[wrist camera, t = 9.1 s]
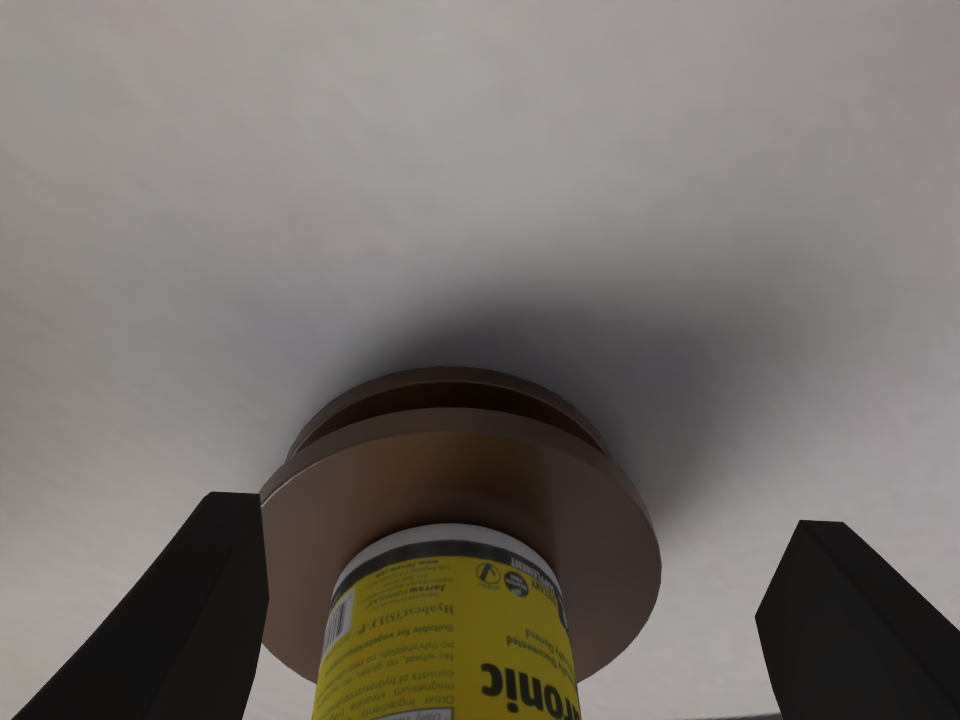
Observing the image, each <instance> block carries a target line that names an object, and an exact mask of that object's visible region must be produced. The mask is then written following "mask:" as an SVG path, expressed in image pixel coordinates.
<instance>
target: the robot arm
mask: <svg viewBox="0 0 960 720" xmlns="http://www.w3.org/2000/svg"><path fill="white" fill-rule="evenodd" d="M269 599H270V597H269V586H268V576H267V565H266V555H265V544H264V534H263V523H262V513H261V502H260V494H251V493H231V492H210V493H209V494H208V495H206V496H205V497H204V498H203V499H202V500H201V502H200V503H199V504H198V506H197V507H196V508H195V510H194V511H193V512H192V514H191V515H190V516H189V518H188V519H187V520H186V522H185V523H184V524H183V525H182V527H181V528H180V529H179V531H178V532H177V533H176V535H175V536H174V537H173V538H172V540H171V541H170V542H169V544H168V545H167V546H166V547H165V549H164V550H163V551H162V552H161V554H160V555H159V556H158V557H157V559H156V560H155V561H154V562H153V563H152V565H151V566H150V567H149V568H148V570H147V571H146V572H145V573H144V574H143V576H142V577H141V578H140V579H139V581H138V582H137V583H136V584H135V585H134V586H133V588H132V589H131V590H130V591H129V592H128V593H127V595H126V596H125V597H124V598H123V599H122V600H121V602H120V603H119V604H118V605H117V606H116V607H115V608H114V610H113V611H112V612H111V613H110V614H109V615H108V617H107V618H106V619H105V620H104V621H103V622H102V624H101V625H100V626H99V627H98V628H97V629H96V631H95V632H94V633H93V634H92V635H91V636H90V637H89V638H88V639H87V641H86V642H85V643H84V644H83V645H82V646H81V647H80V648H79V649H78V650H77V651H76V652H75V653H74V655H73V656H72V657H71V658H70V659H69V660H68V661H67V662H66V663H65V664H64V665H63V666H62V667H61V668H60V669H59V670H58V671H57V673H56V674H55V675H54V676H53V677H52V678H51V679H50V680H49V681H48V682H47V683H46V684H45V685H44V686H43V687H42V688H41V690H40V691H39V692H38V693H37V694H36V695H35V696H34V697H33V698H32V699H31V700H30V701H29V702H28V703H27V704H26V705H25V706H24V707H23V708H22V709H21V710H20V711H19V712H18V713H17V714H16V715H15V716H14V717H13V718H12V719H11V720H242V718H243V714H244V711H245V707H246V704H247V701H248V697H249V694H250V691H251V687H252V684H253V680H254V677H255V673H256V668H257V663H258V658H259V653H260V648H261V643H262V637H263V632H264V626H265V621H266V615H267V610H268V604H269ZM755 620H756V624H757V629H758V633H759V637H760V642H761V646H762V650H763V655H764V659H765V662H766V666H767V670H768V674H769V677H770V681H771V685H772V689H773V692H774V695H775V697H776V700H777V703H778V706H779V708H780V711H781V714H782V716H783V719H784V720H960V631H959V630H958V629H957V628H956V627H955V626H954V625H953V624H952V623H950V622H949V621H948V620H947V619H946V618H945V617H944V616H943V615H942V614H941V613H940V612H939V611H938V610H937V609H936V608H935V607H934V606H932V605H931V604H930V603H929V602H928V601H927V600H926V599H925V598H924V597H923V596H922V595H921V594H920V593H919V592H918V591H917V590H916V589H915V588H914V587H912V586H911V585H910V584H909V583H908V582H907V581H906V580H905V579H904V578H903V577H902V576H901V575H900V574H899V573H898V572H897V571H896V570H895V569H894V568H893V567H891V566H890V565H889V564H888V563H887V562H886V561H885V560H884V559H883V558H882V557H881V556H880V555H879V554H878V553H877V552H876V551H875V550H873V549H872V548H871V547H870V546H869V545H868V544H867V543H866V542H865V541H864V540H863V539H862V538H860V537H859V536H858V535H857V534H856V533H855V532H854V531H853V530H852V529H850V528H849V527H848V526H847V525H846V524H845V523H844V522H833V521H812V520H799V523H798V525H797V527H796V529H795V531H794V533H793V535H792V538H791V540H790V542H789V544H788V546H787V548H786V550H785V553H784V555H783V557H782V559H781V561H780V563H779V565H778V568H777V570H776V572H775V574H774V576H773V578H772V580H771V583H770V585H769V587H768V589H767V591H766V593H765V595H764V598H763V600H762V602H761V604H760V606H759V608H758V610H757V613H756V615H755Z"/></svg>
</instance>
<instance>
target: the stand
mask: <svg viewBox="0 0 960 720" xmlns="http://www.w3.org/2000/svg"><path fill="white" fill-rule="evenodd" d="M258 494H260V502H261V513H262V523H263V534H264V544H265V555H266V565H267V576H268V586H269V597H270V599H269V604H268V610H267V615H266V621H265V626H264V632H263V637H262V643H263V645H264V646H265V647H266V648H267V649H268V650H269V651H270V652H271V653H272V654H273V655H274V656H275V657H277V658H278V659H279V660H280V661H281V662H282V663H284V664H285V665H286V666H287V667H289V668H290V669H292V670H293V671H295V672H296V673H298V674H299V675H301V676H302V677H304V678H305V679H307V680H309V681H311V682H313V683H315V684H317V681H318V675H319V668H320V662H321V654H322V649H323V644H324V637H325V631H326V625H327V620H328V613H329V608H330V604H331V599H332V595H333V591H334V588H335V585H336V583H337V581H338V579H339V577H340V575H341V573H342V572H343V570H344V569H345V567H346V566H347V565H348V564H349V563H350V562H351V560H352V559H353V558H354V557H355V556H356V555H357V554H359V553H360V552H361V551H362V550H363V549H365V548H366V547H368V546H369V545H371V544H373V543H375V542H377V541H378V540H380V539H382V538H385V537H387V536H389V535H391V534H394V533H397V532H399V531H402V530H406V529H410V528H414V527H419V526H425V525H433V524H449V523H454V524H469V525H476V526H481V527H486V528H489V529H492V530H496V531H499V532H501V533H504V534H506V535H509V536H511V537H513V538H515V539H517V540H519V541H520V542H522V543H524V544H525V545H527V546H528V547H530V548H531V549H532V550H534V551H535V552H536V553H537V554H538V555H539V556H540V557H541V558H542V559H543V560H544V561H545V562H546V563H547V564H548V566H549V567H550V568H551V570H552V571H553V573H554V575H555V577H556V579H557V581H558V584H559V586H560V589H561V593H562V597H563V602H564V607H565V614H566V618H567V623H568V628H569V633H570V643H571V651H572V658H573V663H574V671H575V678H576V683H579V682H580V681H582V680H584V679H586V678H588V677H590V676H591V675H593V674H594V673H596V672H597V671H599V670H600V669H602V668H603V667H605V666H606V665H608V664H609V663H610V662H611V661H612V660H614V659H615V658H616V657H617V656H618V655H619V654H621V653H622V652H623V651H624V650H625V649H626V648H627V647H628V646H629V644H630V643H631V642H632V641H633V640H634V639H635V638H636V637H637V636H638V634H639V633H640V631H641V630H642V628H643V627H644V625H645V624H646V622H647V620H648V619H649V617H650V614H651V612H652V610H653V608H654V605H655V603H656V600H657V596H658V592H659V588H660V584H661V569H662V562H661V556H660V549H659V544H658V540H657V537H656V534H655V530H654V527H653V524H652V521H651V518H650V515H649V512H648V509H647V507H646V504H645V503H644V501H643V499H642V497H641V496H640V494H639V492H638V490H637V489H636V487H635V486H634V485H633V483H632V482H631V481H630V480H629V479H628V477H627V476H626V475H625V474H624V473H623V471H622V470H621V469H620V468H618V467H617V466H616V465H615V464H614V461H613V459H612V456H611V453H610V451H609V449H608V447H607V445H606V443H605V442H604V440H603V438H602V437H601V435H600V433H599V432H598V431H597V430H596V429H595V427H594V426H593V425H592V424H591V423H590V421H589V420H588V419H587V418H586V417H585V416H584V415H582V414H581V413H580V412H579V411H578V410H577V409H576V408H575V407H574V406H572V405H571V404H569V403H568V402H566V401H565V400H563V399H562V398H561V397H559V396H558V395H556V394H555V393H553V392H551V391H549V390H547V389H545V388H543V387H541V386H539V385H537V384H535V383H532V382H529V381H526V380H523V379H521V378H518V377H515V376H512V375H508V374H503V373H499V372H495V371H490V370H483V369H474V368H466V367H436V368H426V369H415V370H411V371H406V372H401V373H396V374H392V375H388V376H385V377H382V378H379V379H376V380H373V381H370V382H368V383H366V384H364V385H361V386H359V387H357V388H355V389H353V390H351V391H349V392H347V393H345V394H344V395H342V396H341V397H339V398H338V399H336V400H334V401H333V402H331V403H330V404H329V405H327V406H326V407H325V408H324V409H323V410H321V411H320V412H319V413H318V414H317V415H316V416H314V417H313V418H312V419H311V421H310V422H309V423H308V424H307V425H306V426H305V427H304V429H303V430H302V431H301V432H300V434H299V435H298V437H297V438H296V440H295V442H294V443H293V445H292V446H291V448H290V450H289V453H288V455H287V458H286V460H285V463H284V464H283V465H282V466H281V467H280V468H279V469H278V470H277V471H276V472H275V473H274V474H273V475H272V476H271V478H270V479H269V480H268V481H267V482H266V483H265V484H264V486H263V487H262V489H261V490H260V492H259V493H258Z"/></svg>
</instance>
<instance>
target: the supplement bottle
mask: <svg viewBox="0 0 960 720" xmlns="http://www.w3.org/2000/svg"><path fill="white" fill-rule="evenodd" d="M311 720H582V717H581V711H580V704H579V698H578V689H577V683H576V678H575V671H574V663H573V658H572V651H571V643H570V633H569V628H568V623H567V618H566V614H565V607H564V602H563V597H562V593H561V589H560V586H559V584H558V581H557V579H556V577H555V575H554V573H553V571H552V570H551V568H550V567H549V566H548V564H547V563H546V562H545V561H544V560H543V559H542V558H541V557H540V556H539V555H538V554H537V553H536V552H535V551H534V550H532V549H531V548H530V547H528V546H527V545H525V544H524V543H522V542H520V541H519V540H517V539H515V538H513V537H511V536H509V535H506V534H504V533H501V532H499V531H496V530H492V529H489V528H486V527H481V526H476V525H469V524H454V523H449V524H433V525H425V526H419V527H414V528H410V529H406V530H402V531H399V532H397V533H394V534H391V535H389V536H387V537H385V538H382V539H380V540H378V541H377V542H375V543H373V544H371V545H369V546H368V547H366V548H365V549H363V550H362V551H361V552H360V553H359V554H357V555H356V556H355V557H354V558H353V559H352V560H351V562H350V563H349V564H348V565H347V566H346V567H345V569H344V570H343V572H342V573H341V575H340V577H339V579H338V581H337V583H336V585H335V588H334V591H333V595H332V599H331V604H330V608H329V613H328V620H327V625H326V631H325V637H324V644H323V649H322V654H321V662H320V668H319V675H318V681H317V687H316V693H315V700H314V706H313V713H312V719H311Z"/></svg>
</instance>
